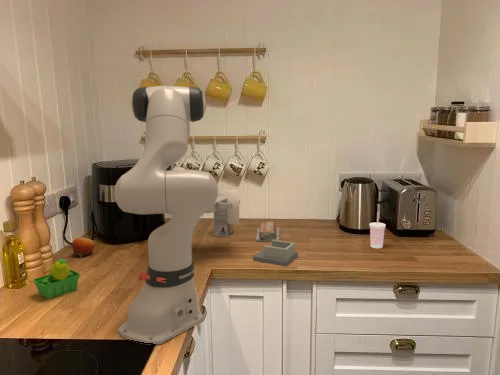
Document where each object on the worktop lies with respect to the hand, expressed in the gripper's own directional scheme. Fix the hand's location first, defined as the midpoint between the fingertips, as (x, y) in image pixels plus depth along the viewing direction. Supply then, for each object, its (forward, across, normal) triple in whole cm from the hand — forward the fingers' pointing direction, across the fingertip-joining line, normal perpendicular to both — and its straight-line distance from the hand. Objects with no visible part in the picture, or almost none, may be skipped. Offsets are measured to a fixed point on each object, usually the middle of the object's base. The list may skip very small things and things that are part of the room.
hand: (235, 204), depth 154 cm
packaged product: (0, +29, +20) cm, 35 cm away
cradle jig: (+14, +4, +20) cm, 25 cm away
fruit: (-54, -23, +20) cm, 62 cm away
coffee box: (-19, +23, +20) cm, 36 cm away
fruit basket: (-33, -51, +20) cm, 64 cm away
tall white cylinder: (-1, 0, +7) cm, 7 cm away
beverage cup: (+45, +33, +20) cm, 59 cm away
